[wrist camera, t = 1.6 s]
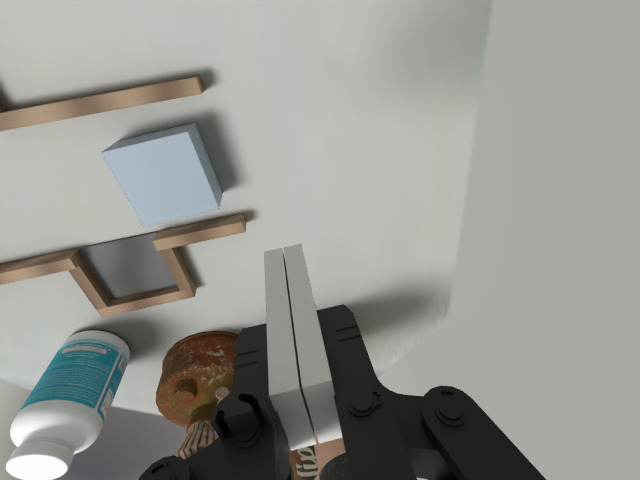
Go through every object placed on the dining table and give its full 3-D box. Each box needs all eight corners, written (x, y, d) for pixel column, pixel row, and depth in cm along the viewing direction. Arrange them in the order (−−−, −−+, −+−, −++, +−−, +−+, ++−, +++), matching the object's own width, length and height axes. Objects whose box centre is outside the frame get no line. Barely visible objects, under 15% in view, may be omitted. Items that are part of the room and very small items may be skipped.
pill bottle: (49, 341, 38) (-39, 465, 27) (105, 318, 38) (40, 434, 27) (93, 376, 42) (33, 497, 31) (144, 355, 42) (102, 471, 31)
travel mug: (320, 301, 42) (362, 471, 25) (362, 322, 46) (424, 484, 29) (286, 338, 45) (304, 515, 28) (328, 355, 48) (367, 523, 31)
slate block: (195, 121, 29) (187, 131, 26) (222, 191, 33) (218, 208, 30) (118, 140, 29) (100, 152, 26) (155, 208, 33) (143, 227, 29)
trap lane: (166, -31, 24) (146, -48, 19) (262, 273, 39) (262, 301, 34) (-334, 50, 22) (-480, 51, 17) (-28, 338, 36) (-66, 376, 32)
